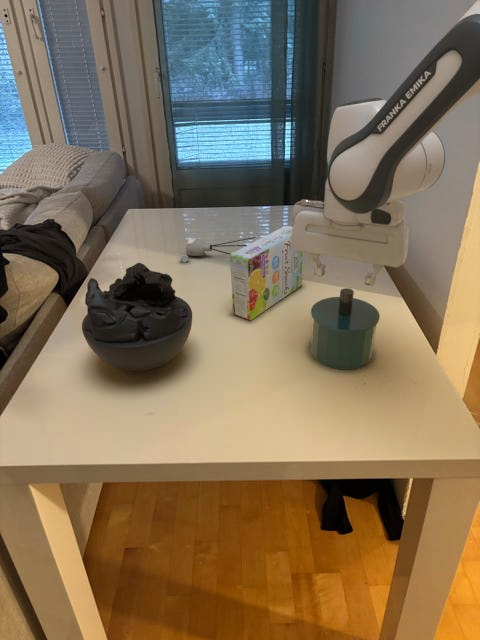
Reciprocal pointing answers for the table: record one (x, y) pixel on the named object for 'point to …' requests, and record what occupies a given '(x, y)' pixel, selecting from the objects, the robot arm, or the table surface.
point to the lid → (345, 313)
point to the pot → (342, 347)
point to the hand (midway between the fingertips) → (344, 279)
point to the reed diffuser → (202, 248)
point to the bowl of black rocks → (136, 320)
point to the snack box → (264, 273)
